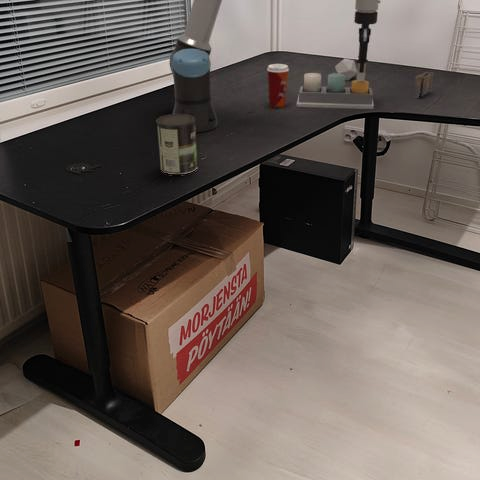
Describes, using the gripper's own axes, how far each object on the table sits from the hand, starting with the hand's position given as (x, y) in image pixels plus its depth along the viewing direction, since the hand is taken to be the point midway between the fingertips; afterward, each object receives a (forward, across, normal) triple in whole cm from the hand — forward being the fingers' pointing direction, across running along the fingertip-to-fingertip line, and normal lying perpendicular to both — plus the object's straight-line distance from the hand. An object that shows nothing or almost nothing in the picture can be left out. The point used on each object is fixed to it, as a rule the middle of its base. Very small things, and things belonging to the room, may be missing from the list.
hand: (360, 81), depth 215 cm
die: (+8, +34, +4) cm, 36 cm away
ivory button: (+4, 0, +17) cm, 17 cm away
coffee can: (+8, -68, +50) cm, 85 cm away
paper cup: (+8, -5, +29) cm, 31 cm away
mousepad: (+9, -70, +74) cm, 103 cm away
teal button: (+4, 0, +8) cm, 9 cm away
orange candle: (+6, 0, 0) cm, 6 cm away
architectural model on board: (+9, +14, -24) cm, 29 cm away
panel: (+8, 0, +8) cm, 12 cm away
